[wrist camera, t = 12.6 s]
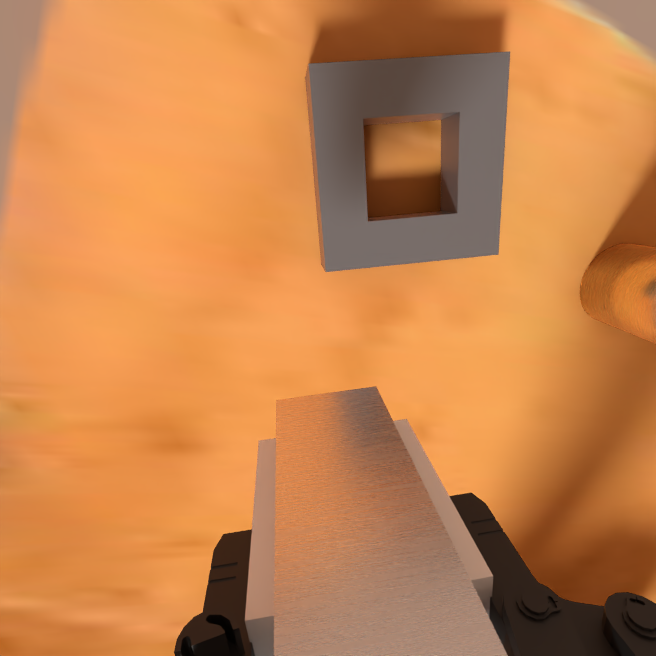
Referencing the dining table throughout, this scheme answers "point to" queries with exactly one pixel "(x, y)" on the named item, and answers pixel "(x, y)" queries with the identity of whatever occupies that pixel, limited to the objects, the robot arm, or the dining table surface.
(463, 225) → the bore block
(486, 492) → the dining table surface
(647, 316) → the round bit
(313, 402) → the square bit
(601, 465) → the dining table surface
